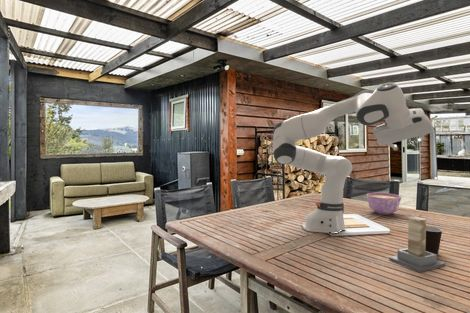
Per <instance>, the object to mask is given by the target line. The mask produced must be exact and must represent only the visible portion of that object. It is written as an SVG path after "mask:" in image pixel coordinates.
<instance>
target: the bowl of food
mask: <svg viewBox="0 0 470 313" xmlns="http://www.w3.org/2000/svg"><path fill="white" fill-rule="evenodd" d="M366 199H367V203H368V206H369V208H370V209H371V210H372V211H373V212H375V213H377V214H378V215H387V216H388V215H390V214H394V213H395V212H396V211H397V210H398V209H399V206H400V204H401V203H400V202H401V199H402V196H401V195H398V194H394V193H390V192H389V193H387V192H369V193H366Z"/></svg>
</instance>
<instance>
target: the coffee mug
mask: <svg viewBox="0 0 470 313" xmlns="http://www.w3.org/2000/svg"><path fill="white" fill-rule="evenodd" d="M442 234H443V229H441V228H440V227H436V226H432V225H426V245H425V251H427V252H430V253H433V254H436V255H437V256H438V255H439V250H440V244H441V239H442Z"/></svg>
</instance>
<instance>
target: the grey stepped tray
mask: <svg viewBox="0 0 470 313" xmlns="http://www.w3.org/2000/svg"><path fill="white" fill-rule="evenodd" d="M437 258H438V255H436V254H433V253H430V252H427V251H425V256H422V257H418V256H415V255H413V254H410V253H408V247H405V248H401V249H397V254H396V255H393V256H389V259H388V260H389V261H391V262H395V263H396V264H399V265H401V266H404V267H406V268H408V269H410V270H412V271H415V272H417V273H423V272H426V271H431V270H434V269H438V268H439V269H440V268H442V267H445V266H446V263H445V262H443V261H441V260H438V259H437Z"/></svg>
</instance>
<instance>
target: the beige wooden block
mask: <svg viewBox="0 0 470 313" xmlns="http://www.w3.org/2000/svg"><path fill="white" fill-rule="evenodd" d="M426 226H427V218H422V217H419V216H413V217H408V230H407V231H408V234H407V235H408V236H407V248H408V253H410V254H413V255H415V256H418V257H422V256H425V245H426Z"/></svg>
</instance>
